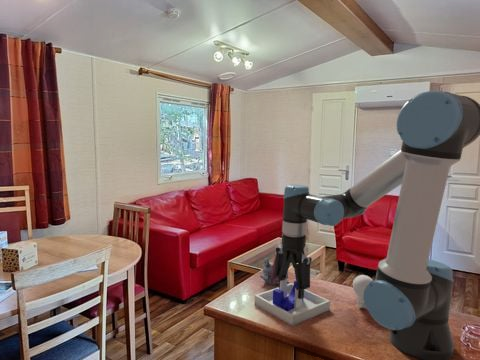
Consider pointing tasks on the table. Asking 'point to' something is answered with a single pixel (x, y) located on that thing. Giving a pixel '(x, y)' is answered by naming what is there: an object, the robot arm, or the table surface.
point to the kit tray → (309, 308)
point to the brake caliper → (270, 272)
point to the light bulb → (361, 288)
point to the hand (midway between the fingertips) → (290, 302)
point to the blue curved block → (284, 302)
